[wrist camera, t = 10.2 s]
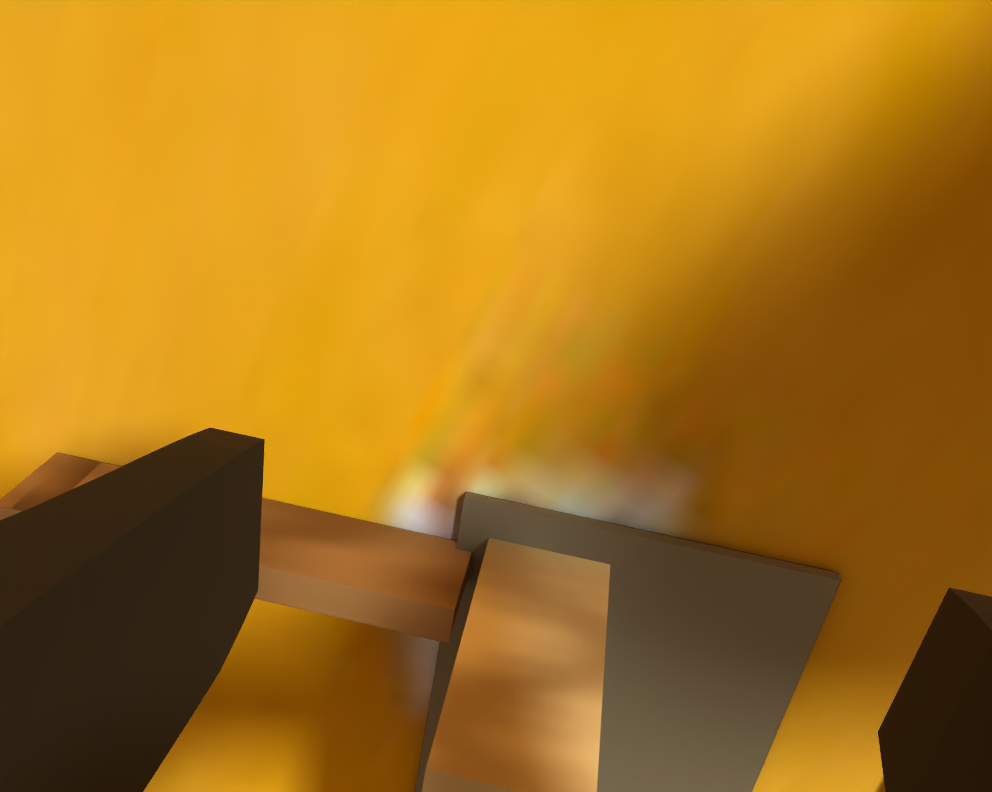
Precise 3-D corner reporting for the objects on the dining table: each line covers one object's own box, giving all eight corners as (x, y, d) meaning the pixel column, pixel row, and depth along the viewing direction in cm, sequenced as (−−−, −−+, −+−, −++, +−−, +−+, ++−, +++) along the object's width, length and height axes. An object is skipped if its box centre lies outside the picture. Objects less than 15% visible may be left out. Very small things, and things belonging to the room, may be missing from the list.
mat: (838, 572, 21) (840, 580, 21) (705, 891, 26) (705, 900, 26) (466, 492, 22) (463, 498, 21) (410, 819, 27) (408, 828, 27)
